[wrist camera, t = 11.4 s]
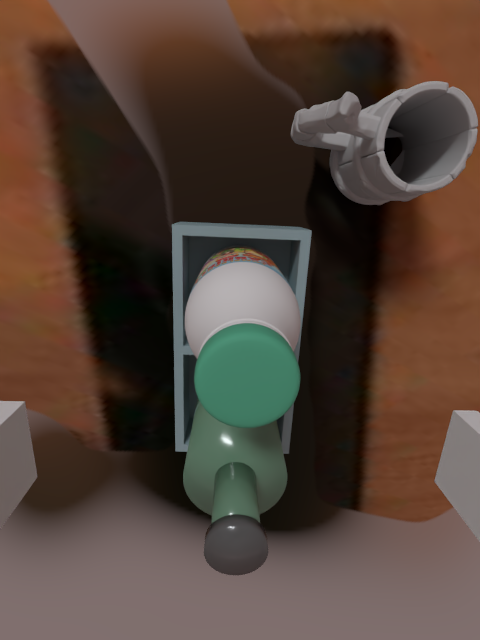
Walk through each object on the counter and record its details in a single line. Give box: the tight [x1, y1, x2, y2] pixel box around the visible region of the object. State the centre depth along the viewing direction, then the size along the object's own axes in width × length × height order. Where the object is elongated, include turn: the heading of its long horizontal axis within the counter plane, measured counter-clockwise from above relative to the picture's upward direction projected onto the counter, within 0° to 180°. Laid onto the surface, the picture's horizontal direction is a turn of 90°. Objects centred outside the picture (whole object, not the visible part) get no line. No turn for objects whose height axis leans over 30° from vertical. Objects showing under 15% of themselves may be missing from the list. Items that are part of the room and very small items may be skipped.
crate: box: [172, 222, 312, 454], centre depth 33 cm, size 11×21×5 cm, turn 178°
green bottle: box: [183, 397, 287, 575], centre depth 28 cm, size 7×7×19 cm
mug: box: [291, 81, 478, 205], centre depth 25 cm, size 8×12×12 cm, turn 76°
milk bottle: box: [185, 245, 301, 428], centre depth 24 cm, size 8×8×20 cm
